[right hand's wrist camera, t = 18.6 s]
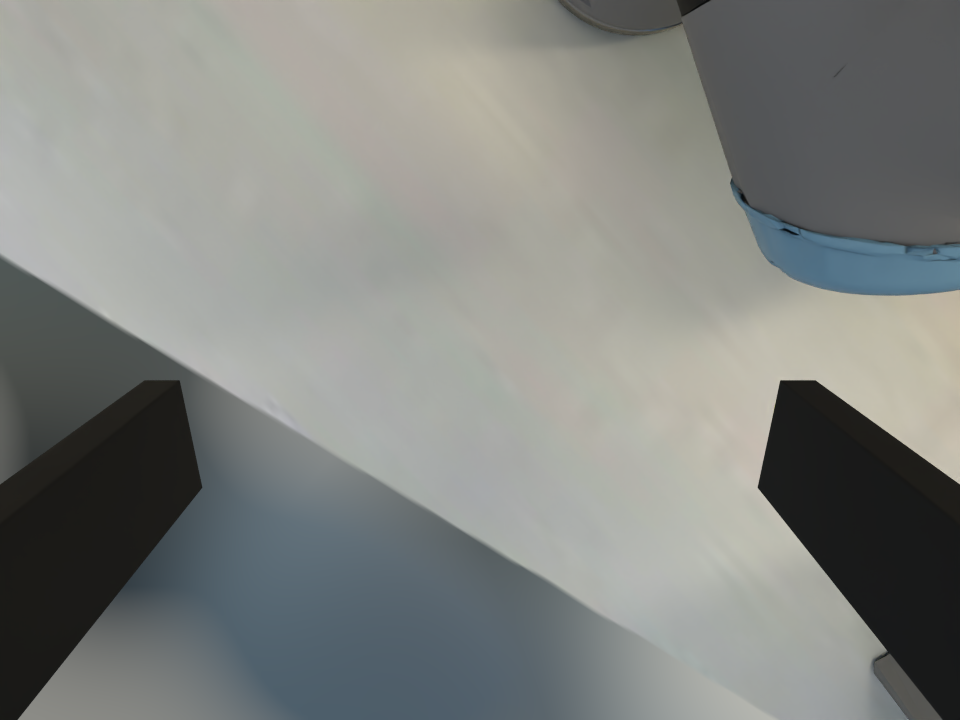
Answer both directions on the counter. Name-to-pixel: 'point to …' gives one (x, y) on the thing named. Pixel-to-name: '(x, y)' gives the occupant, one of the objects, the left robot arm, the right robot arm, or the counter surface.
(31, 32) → the counter surface
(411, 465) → the counter surface
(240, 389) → the counter surface
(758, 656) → the counter surface
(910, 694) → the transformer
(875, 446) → the right robot arm
